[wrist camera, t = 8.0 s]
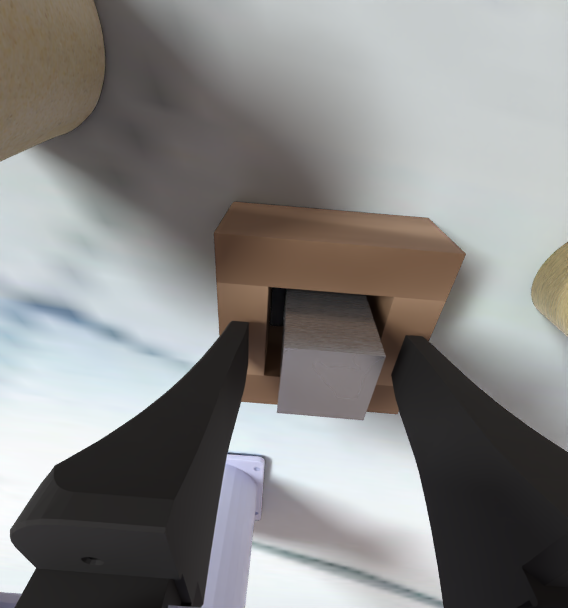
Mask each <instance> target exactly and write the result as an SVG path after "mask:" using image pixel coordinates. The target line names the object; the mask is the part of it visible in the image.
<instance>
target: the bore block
mask: <svg viewBox="0 0 568 608" xmlns="http://www.w3.org/2000/svg"><path fill="white" fill-rule="evenodd" d="M214 244H215V263H216V281H217V299H218V317H219V335H221V334H222V333H223V331H224V330H225V328H226V327H227V326H228V324H229V323H230V322H231V321H243V322H249V353H248V369H247V376H246V382H245V388H244V392H243V396H242V400H241V402H252V403H264V404H277V405H278V391H279V377H280V363H281V349H282V334H283V326H271V325H270V320H271V303H272V287H278V288H290V289H302V290H314V291H326V292H338V293H350V294H363V295H366V298H367V301H368V304H369V307H370V310H371V313H372V316H373V319H374V322H375V325H376V328H377V331H378V334H379V337H380V340H381V343H382V346H383V349H384V352H385V355H386V358H385V360H384V363H383V366H382V369H381V372H380V375H379V377H378V380H377V383H376V386H375V389H374V391H373V394H372V397H371V400H370V403H369V406H368V408H367V411H366V412H377V413H389V414H398V411H399V409H398V405H397V402H396V399H395V394H394V389H393V383H392V377H391V373H392V371H393V368H394V365H395V362H396V360H397V357H398V354H399V352H400V349H401V346H402V343H403V341H404V338H405V335H414V336H423V337H424V338H425V339H426V340H427V341H429V339H430V337H431V334H432V332H433V330H434V327H435V325H436V323H437V320H438V318H439V316H440V313H441V311H442V309H443V306H444V304H445V302H446V299H447V297H448V295H449V292H450V290H451V288H452V285H453V283H454V281H455V278H456V276H457V274H458V271H459V269H460V267H461V264H462V262H463V260H464V257H465V255H466V254H465V253H464V252H463V251H462V250H461V249H460V248H459V247H458V246H457V245H456V244H455V243H454V242H453V241H452V240H451V239H450V238H449V237H448V236H447V235H446V234H444V233H443V232H442V231H441V230H440V229H439V228H438V227H437V226H436V225H435V224H434V223H433V222H432V221H431V220H430V219H429V218H422V217H410V216H398V215H387V214H375V213H363V212H351V211H339V210H327V209H315V208H303V207H291V206H279V205H267V204H255V203H243V202H233V203H232V205H231V206H230V208H229V209H228V211H227V213H226V214H225V216H224V217H223V219H222V221H221V222H220V224H219V226H218V227H217V229H216V230H215V232H214Z"/></svg>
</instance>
